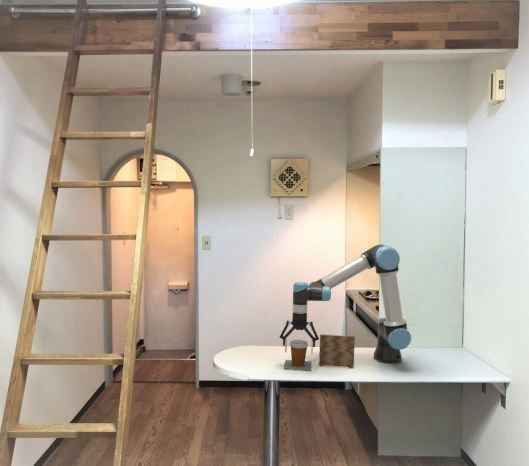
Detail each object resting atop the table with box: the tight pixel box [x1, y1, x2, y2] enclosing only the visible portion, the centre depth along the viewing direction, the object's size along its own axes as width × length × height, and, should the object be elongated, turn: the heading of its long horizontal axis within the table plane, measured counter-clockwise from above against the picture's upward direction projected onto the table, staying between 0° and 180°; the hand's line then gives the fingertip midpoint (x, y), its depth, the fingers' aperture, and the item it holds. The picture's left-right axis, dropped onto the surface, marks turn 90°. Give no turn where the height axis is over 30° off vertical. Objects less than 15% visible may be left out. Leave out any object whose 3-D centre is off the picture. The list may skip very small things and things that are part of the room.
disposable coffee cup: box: [289, 339, 309, 367], centre depth 254 cm, size 10×10×12 cm
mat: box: [283, 359, 312, 372], centre depth 254 cm, size 14×14×1 cm
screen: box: [318, 334, 356, 369], centre depth 256 cm, size 18×5×16 cm, turn 84°
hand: (298, 352), depth 254 cm, fingers open, 13 cm apart
